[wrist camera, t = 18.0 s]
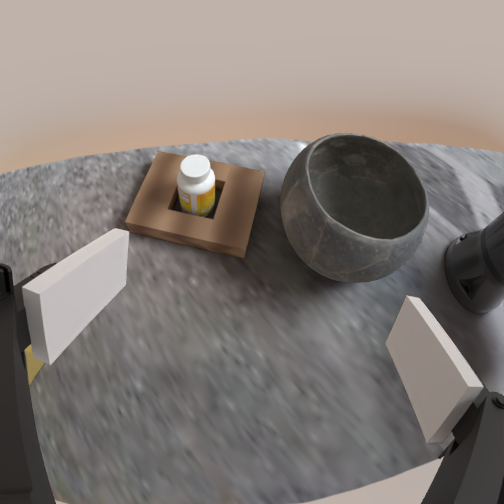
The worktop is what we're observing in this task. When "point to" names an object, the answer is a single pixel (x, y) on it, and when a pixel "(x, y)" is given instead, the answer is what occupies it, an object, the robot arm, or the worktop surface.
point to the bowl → (353, 207)
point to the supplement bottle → (196, 186)
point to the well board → (191, 226)
